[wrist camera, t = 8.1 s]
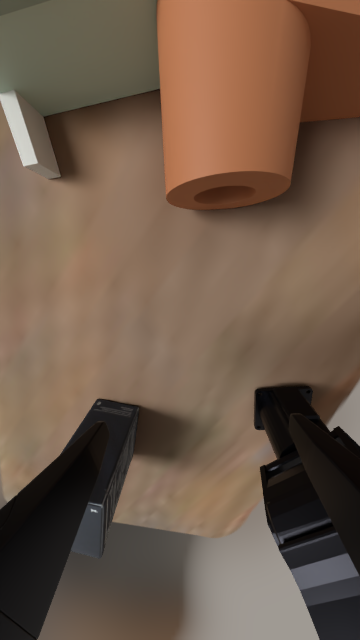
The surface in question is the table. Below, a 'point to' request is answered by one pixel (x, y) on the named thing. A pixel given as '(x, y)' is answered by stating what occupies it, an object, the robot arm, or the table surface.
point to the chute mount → (70, 63)
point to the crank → (249, 91)
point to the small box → (106, 473)
